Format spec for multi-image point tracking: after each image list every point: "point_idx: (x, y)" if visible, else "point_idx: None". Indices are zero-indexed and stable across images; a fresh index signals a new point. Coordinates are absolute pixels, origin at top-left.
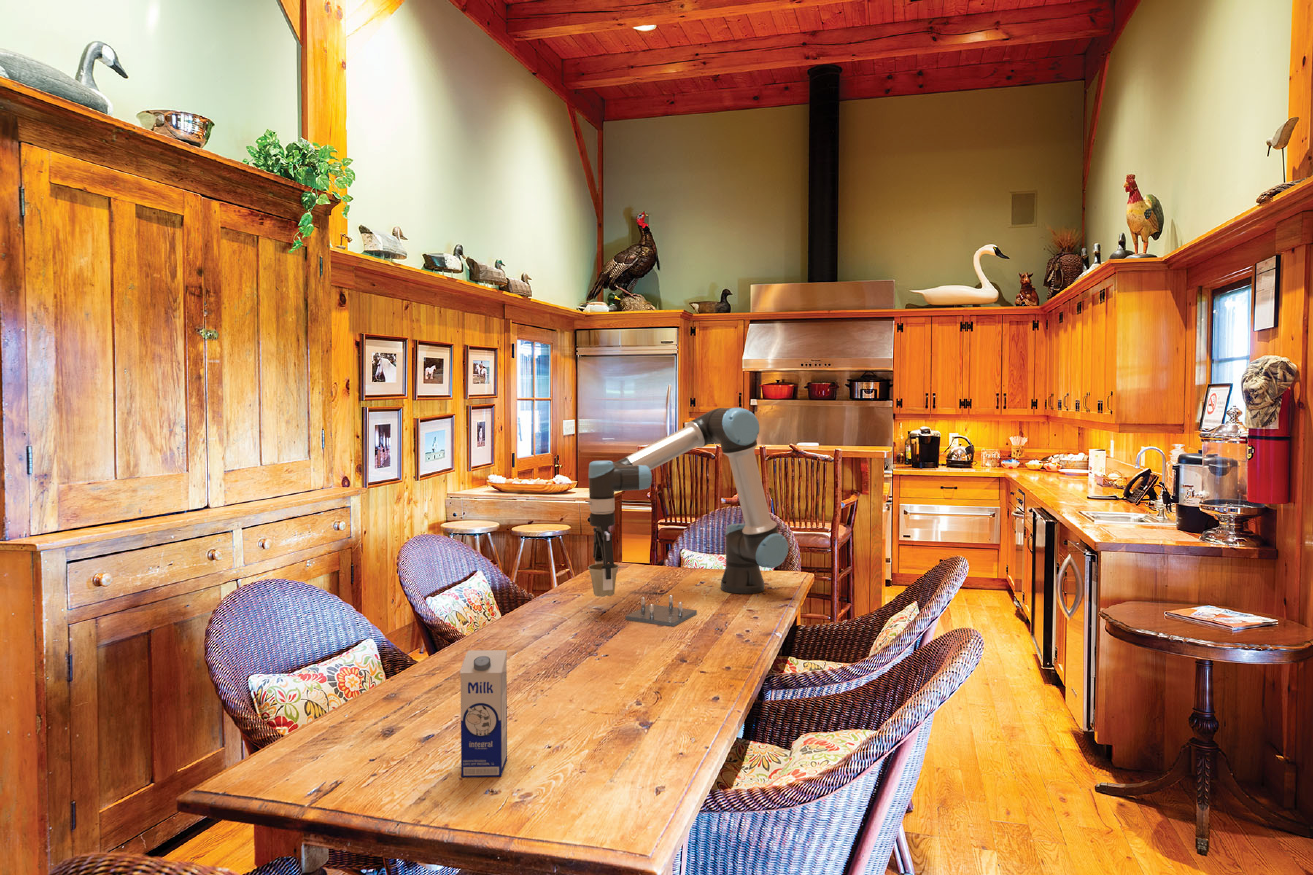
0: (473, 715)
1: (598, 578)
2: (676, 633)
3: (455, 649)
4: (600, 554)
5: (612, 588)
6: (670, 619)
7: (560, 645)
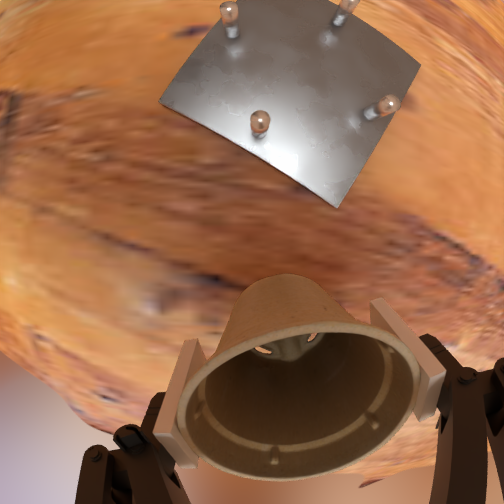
0: None
1: (362, 397)
2: (465, 85)
3: (424, 464)
4: (180, 498)
5: (384, 300)
6: (389, 60)
7: (481, 355)
